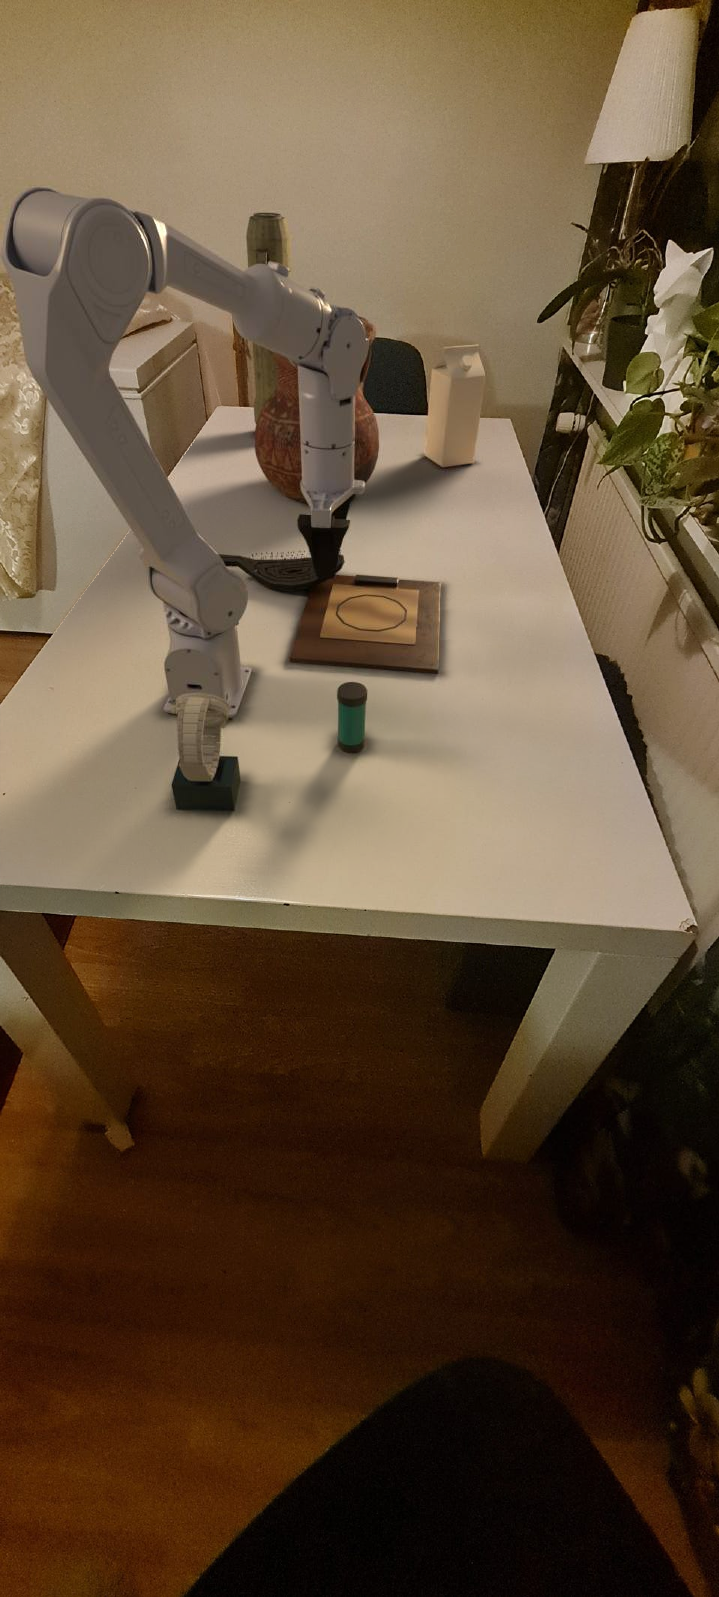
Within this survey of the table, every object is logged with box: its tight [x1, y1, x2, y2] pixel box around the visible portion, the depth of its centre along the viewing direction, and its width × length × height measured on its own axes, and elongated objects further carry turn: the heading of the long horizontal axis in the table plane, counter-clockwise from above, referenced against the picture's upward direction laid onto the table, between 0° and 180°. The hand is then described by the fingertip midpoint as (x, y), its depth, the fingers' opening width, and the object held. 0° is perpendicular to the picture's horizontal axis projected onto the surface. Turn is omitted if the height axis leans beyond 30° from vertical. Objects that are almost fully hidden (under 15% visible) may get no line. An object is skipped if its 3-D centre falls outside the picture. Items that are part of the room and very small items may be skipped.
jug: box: [254, 315, 380, 503], centre depth 116 cm, size 22×21×25 cm
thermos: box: [245, 212, 292, 424], centre depth 132 cm, size 9×12×35 cm
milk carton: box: [423, 344, 486, 468], centre depth 131 cm, size 7×7×19 cm
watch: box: [170, 693, 241, 812], centre depth 65 cm, size 6×8×11 cm
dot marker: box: [336, 681, 369, 754], centre depth 72 cm, size 3×3×7 cm
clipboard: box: [288, 574, 441, 674], centre depth 93 cm, size 22×18×1 cm
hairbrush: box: [217, 549, 346, 592], centre depth 99 cm, size 8×4×25 cm
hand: (329, 561), depth 84 cm, fingers open, 7 cm apart
